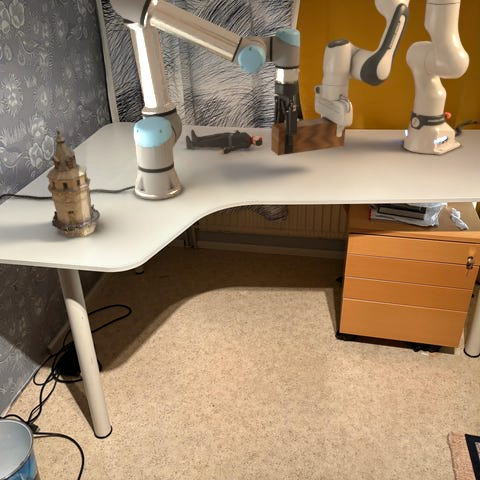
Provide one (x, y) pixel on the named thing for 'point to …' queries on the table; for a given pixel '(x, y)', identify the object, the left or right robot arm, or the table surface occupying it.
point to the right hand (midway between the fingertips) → (331, 132)
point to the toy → (224, 141)
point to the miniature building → (70, 193)
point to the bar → (307, 136)
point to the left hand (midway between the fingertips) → (284, 150)
